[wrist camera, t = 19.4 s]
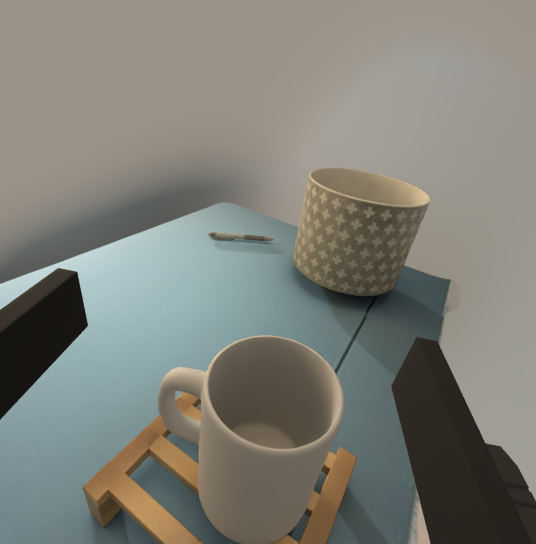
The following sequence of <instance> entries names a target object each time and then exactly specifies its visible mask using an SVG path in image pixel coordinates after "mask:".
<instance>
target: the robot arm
mask: <svg viewBox="0 0 536 544" xmlns="http://www.w3.org/2000/svg"><path fill="white" fill-rule="evenodd" d="M87 326H88V323H87V318H86V313H85V308H84V303H83V298H82V293H81V288H80V283H79V278H78V273H77V272H76V271H70V270H65V269H60V268H58V269H56V270H55V271H54V272H52V273H51V274H49V275H48V276H47V277H45V278H44V279H42V280H41V281H40V282H38V283H37V284H35V285H34V286H33V287H31V288H30V289H29V290H27V291H26V292H24V293H23V294H22V295H20V296H19V297H17V298H16V299H15V300H13V301H12V302H10V303H9V304H8V305H6V306H5V307H4V308H2V309H1V310H0V419H1V418H2V417H3V416H4V415H5V414H6V413H7V412H8V411H9V410H10V409H11V408H12V406H13V405H14V404H15V403H16V402H17V401H18V400H19V399H20V398H21V397H22V396H23V395H24V394H25V393H26V391H27V390H28V389H29V388H30V387H31V386H32V385H33V384H34V383H35V382H36V381H37V380H38V379H39V378H40V377H41V375H42V374H43V373H44V372H45V371H46V370H47V369H48V368H49V367H50V366H51V365H52V364H53V363H54V362H55V361H56V359H57V358H58V357H59V356H60V355H61V354H62V353H63V352H64V351H65V350H66V349H67V348H68V347H69V346H70V344H71V343H72V342H73V341H74V340H75V339H76V338H77V337H78V336H79V335H80V334H81V333H82V332H83V331H84V330H85V328H86V327H87ZM391 387H392V391H393V395H394V399H395V403H396V407H397V411H398V415H399V419H400V423H401V427H402V431H403V435H404V439H405V443H406V447H407V451H408V455H409V459H410V463H411V467H412V471H413V475H414V479H415V483H416V487H417V491H418V495H419V499H420V503H421V507H422V511H423V515H424V519H425V523H426V526H427V531H428V535H429V538H430V543H431V544H536V501H535V499H534V497H533V495H532V493H531V492H529V490H528V488H529V487H528V485H527V483H526V482H525V480H524V478H523V476H522V474H521V472H520V470H519V468H518V466H517V465H516V464H515V463H514V462H513V460H512V459H511V458H510V457H509V456H508V455H507V453H506V452H505V451H504V450H503V449H502V448H501V447H500V446H495V445H490V444H485V442H484V440H483V438H482V435H481V433H480V431H479V429H478V427H477V425H476V423H475V421H474V419H473V416H472V414H471V412H470V410H469V408H468V406H467V404H466V401H465V399H464V397H463V395H462V393H461V391H460V389H459V387H458V384H457V382H456V380H455V378H454V376H453V374H452V372H451V370H450V367H449V365H448V363H447V361H446V359H445V357H444V355H443V353H442V350H441V348H440V346H439V344H438V342H437V341H433V340H428V339H423V338H418V337H416V339H415V341H414V343H413V345H412V347H411V349H410V351H409V353H408V355H407V357H406V359H405V361H404V362H403V364H402V366H401V368H400V370H399V372H398V374H397V376H396V378H395V380H394V382H393V384H392V386H391Z"/></svg>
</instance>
